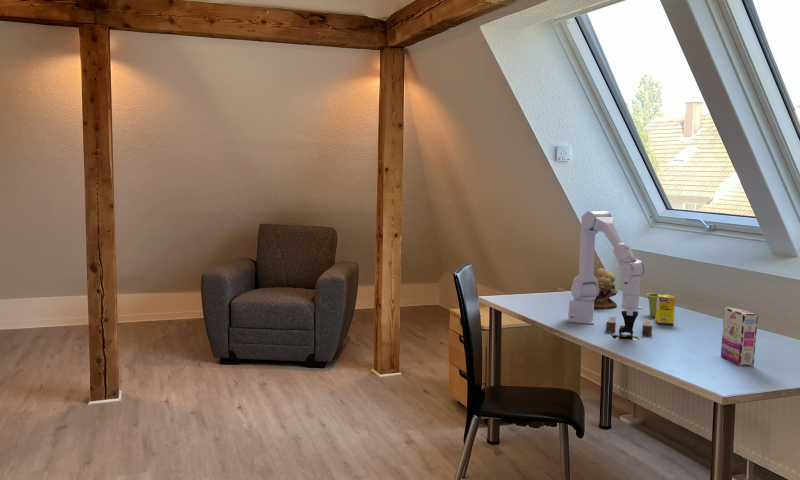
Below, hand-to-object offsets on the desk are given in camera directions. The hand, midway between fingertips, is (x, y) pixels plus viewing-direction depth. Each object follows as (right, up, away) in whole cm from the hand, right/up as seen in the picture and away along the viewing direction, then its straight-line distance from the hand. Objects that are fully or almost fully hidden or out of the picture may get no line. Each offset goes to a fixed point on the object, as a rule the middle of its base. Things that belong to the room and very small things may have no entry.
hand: (628, 331), depth 248 cm
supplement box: (+21, 0, +21) cm, 30 cm away
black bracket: (-2, -3, -2) cm, 4 cm away
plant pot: (+24, +1, +35) cm, 42 cm away
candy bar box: (+24, -6, -30) cm, 39 cm away
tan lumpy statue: (+4, +4, +52) cm, 53 cm away
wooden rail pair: (+3, -1, +10) cm, 10 cm away
